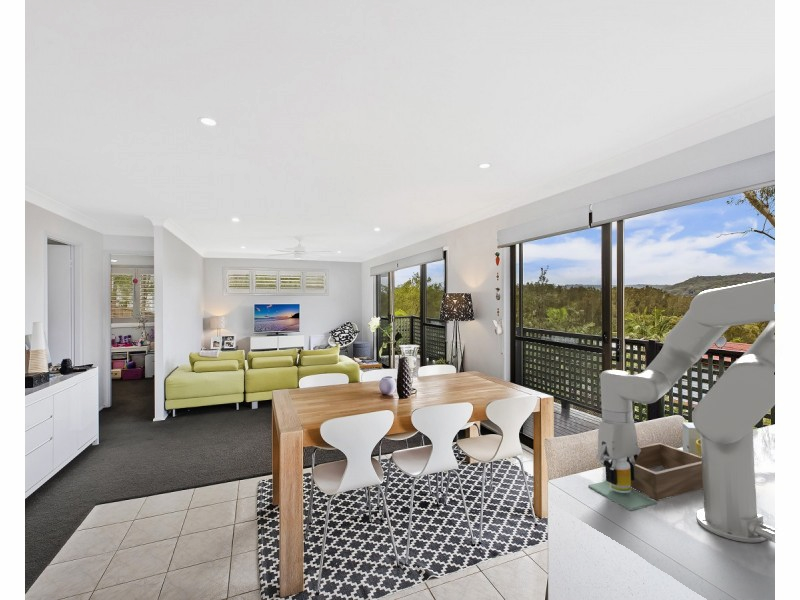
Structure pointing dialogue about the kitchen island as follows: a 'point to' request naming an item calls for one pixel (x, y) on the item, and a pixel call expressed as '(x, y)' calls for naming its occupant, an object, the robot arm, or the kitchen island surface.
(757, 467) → the kitchen island surface
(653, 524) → the kitchen island surface
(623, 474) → the supplement bottle
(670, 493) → the box
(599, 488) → the mat
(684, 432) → the skincare box
